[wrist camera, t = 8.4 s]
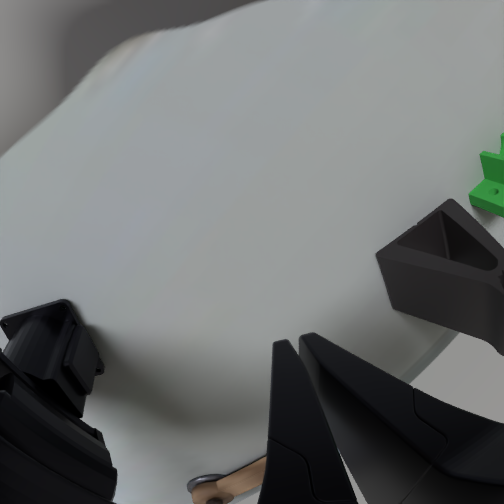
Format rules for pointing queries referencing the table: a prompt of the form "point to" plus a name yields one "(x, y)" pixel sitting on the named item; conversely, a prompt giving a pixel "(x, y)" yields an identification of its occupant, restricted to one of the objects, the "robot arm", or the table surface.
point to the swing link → (230, 484)
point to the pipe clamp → (491, 183)
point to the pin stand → (203, 479)
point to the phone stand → (448, 274)
